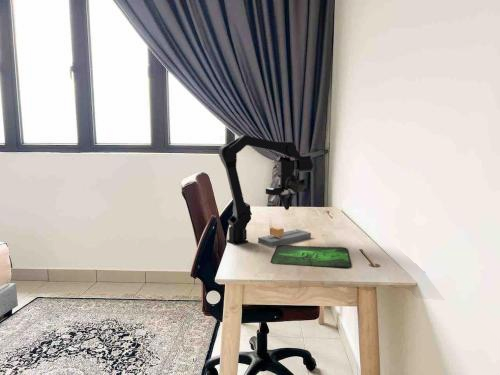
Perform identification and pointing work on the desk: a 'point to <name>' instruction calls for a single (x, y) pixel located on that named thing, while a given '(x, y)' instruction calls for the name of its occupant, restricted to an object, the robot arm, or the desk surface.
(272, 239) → the grey flat panel
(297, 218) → the desk surface
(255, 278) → the desk surface
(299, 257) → the mouse mat
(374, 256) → the desk surface
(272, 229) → the fader
